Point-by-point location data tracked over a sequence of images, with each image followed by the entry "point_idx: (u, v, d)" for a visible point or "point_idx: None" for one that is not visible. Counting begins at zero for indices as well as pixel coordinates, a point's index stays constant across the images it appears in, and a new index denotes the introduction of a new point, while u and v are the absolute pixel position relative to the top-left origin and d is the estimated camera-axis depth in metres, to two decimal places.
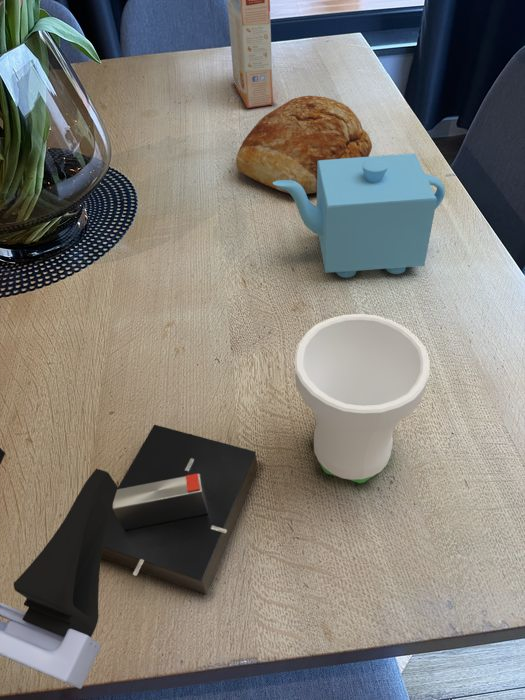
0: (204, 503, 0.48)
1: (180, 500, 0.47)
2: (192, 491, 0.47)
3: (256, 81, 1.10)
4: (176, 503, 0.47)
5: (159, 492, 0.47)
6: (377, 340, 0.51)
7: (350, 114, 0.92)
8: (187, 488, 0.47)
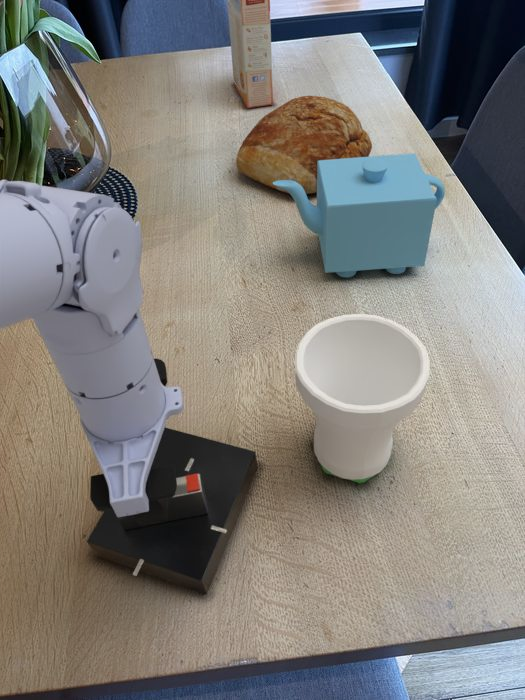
0: (204, 503, 0.48)
1: (180, 500, 0.47)
2: (192, 491, 0.47)
3: (256, 81, 1.10)
4: (176, 503, 0.47)
5: None
6: (377, 340, 0.51)
7: (350, 114, 0.92)
8: (187, 488, 0.47)
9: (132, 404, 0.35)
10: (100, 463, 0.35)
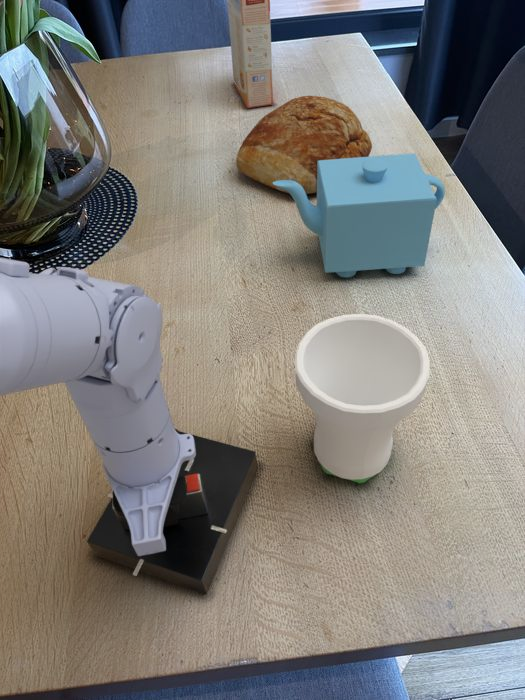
0: (204, 503, 0.48)
1: None
2: (192, 491, 0.47)
3: (256, 81, 1.10)
4: None
5: None
6: (377, 340, 0.51)
7: (350, 114, 0.92)
8: (187, 488, 0.47)
9: (151, 455, 0.39)
10: (122, 507, 0.40)
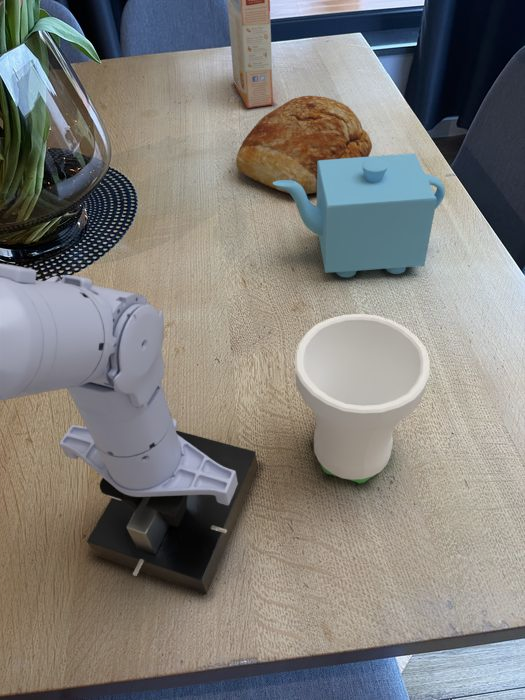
0: None
1: None
2: None
3: (256, 81, 1.10)
4: None
5: None
6: (377, 340, 0.51)
7: (350, 114, 0.92)
8: None
9: (174, 429, 0.41)
10: (186, 489, 0.41)
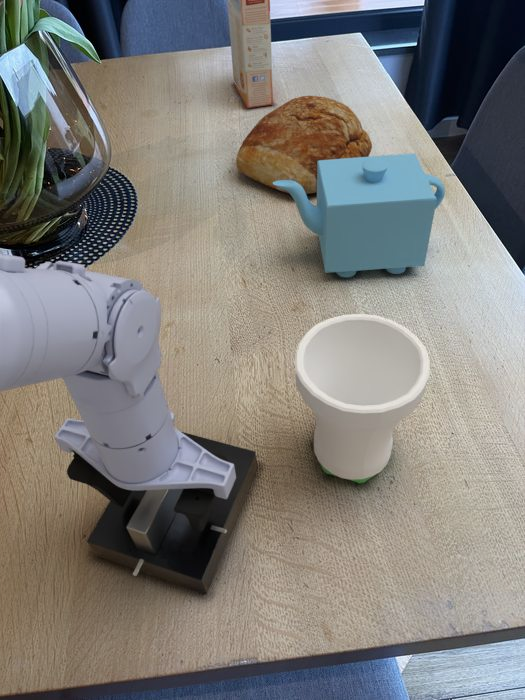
0: None
1: None
2: None
3: (256, 81, 1.10)
4: None
5: None
6: (377, 340, 0.51)
7: (350, 114, 0.92)
8: None
9: (171, 421, 0.40)
10: (183, 482, 0.40)
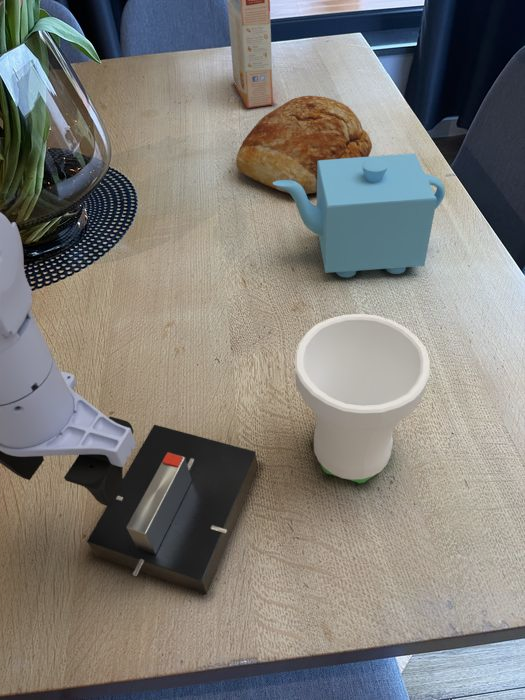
0: (188, 470, 0.51)
1: (177, 481, 0.48)
2: (179, 463, 0.49)
3: (256, 81, 1.10)
4: (175, 487, 0.48)
5: (160, 489, 0.47)
6: (377, 340, 0.51)
7: (350, 114, 0.92)
8: (175, 465, 0.48)
9: (58, 380, 0.36)
10: (72, 447, 0.36)
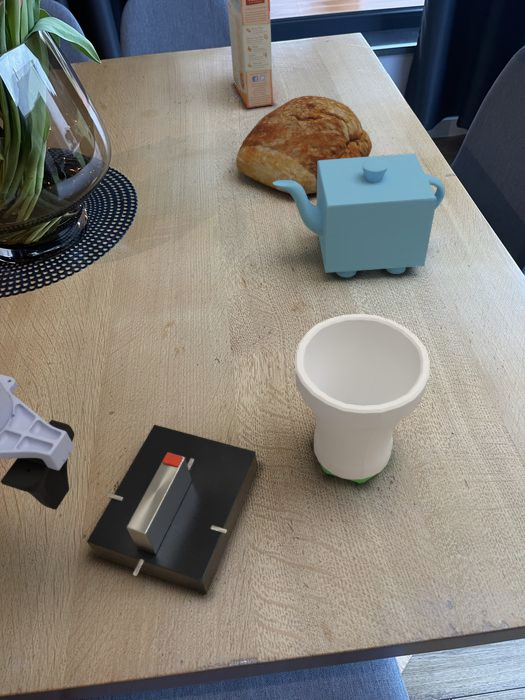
0: (188, 470, 0.51)
1: (177, 481, 0.48)
2: (179, 463, 0.49)
3: (256, 81, 1.10)
4: (175, 487, 0.48)
5: (160, 489, 0.47)
6: (377, 340, 0.51)
7: (350, 114, 0.92)
8: (175, 465, 0.48)
9: None
10: (6, 451, 0.37)
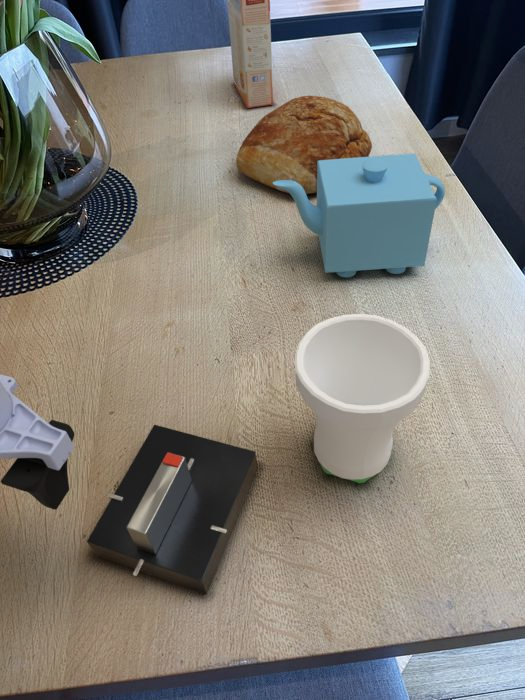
0: (188, 470, 0.51)
1: (177, 481, 0.48)
2: (179, 463, 0.49)
3: (256, 81, 1.10)
4: (175, 487, 0.48)
5: (160, 489, 0.47)
6: (377, 340, 0.51)
7: (350, 114, 0.92)
8: (175, 465, 0.48)
9: None
10: (6, 451, 0.37)
